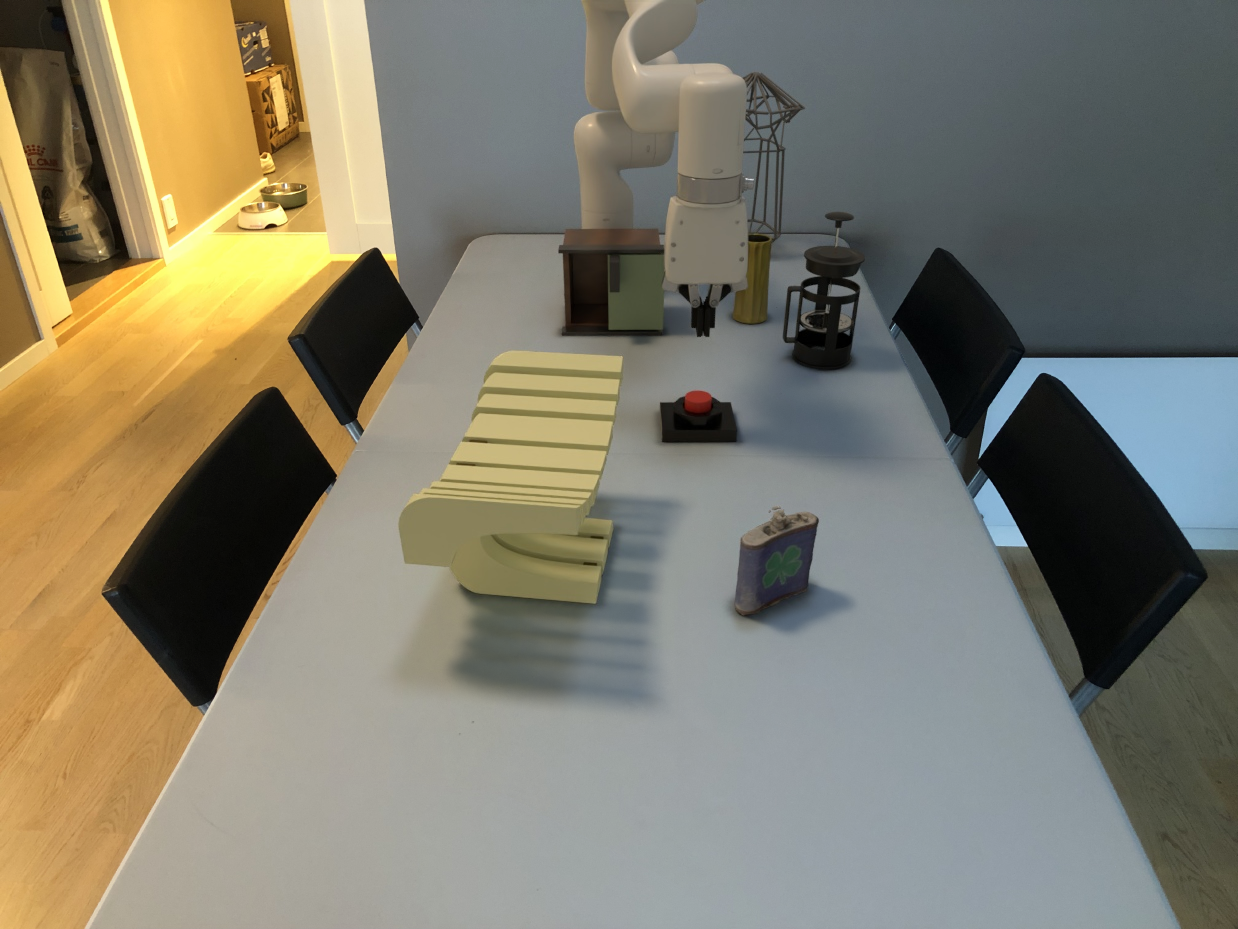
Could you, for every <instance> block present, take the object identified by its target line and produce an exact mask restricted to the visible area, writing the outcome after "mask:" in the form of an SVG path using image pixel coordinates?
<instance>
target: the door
mask: <svg viewBox="0 0 1238 929" xmlns="http://www.w3.org/2000/svg"><path fill="white" fill-rule="evenodd" d="M664 272H665V269H664V253H608V315H609V330H662V331H663V330H664V314H665V311H664V310H665V308H664V306H665V290H664V289H663V288H662V280H663V276H664Z"/></svg>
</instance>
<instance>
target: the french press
mask: <svg viewBox="0 0 1238 929" xmlns="http://www.w3.org/2000/svg"><path fill="white" fill-rule="evenodd" d="M824 218H826V219H827V220H830V221H835V222H834V224H835V225H834V228H835V229H836V231H835V239H834V245H819V246H818V245H817V246H813V247H809V248H807V249H806V250H805V251H804V252H803V257H804V259H806V261H805V269H806V271H807V272H809V273H810V274H813V275H815V276H812V277H808V278H805V279H803V280H802V281H801V282H800V285H789V286H788V287H787V290H786V299H785V309H784V319H783V329H782V340H783V342H784V343H785V344H793V349H792V350H791V358H792V360H793V361H794V362H795V363H796V364H798V365H800V366H802V367H805V368H809V369H812V370H817V371H836V370H840V369H844V368H847V367H848V366H849V365H850V364H851V363H852V359H853V357H852V348H853V342H854V336H855V328H856V322H857V316H858V308H859V302H860V296H861V295H860V294H861V289H862V288H861V285H860V284H858V283H857V282H855V281H853V280H852V279H848V278H851V277H854V276H856V275H857V274H858V272H859V270H860V269H861V265H862V264H863V263H864V262H865V260H866V255H865V254H864V253H863V252H861V251H860V250H857V249H855V248H852V247H847V246H841V245H838V241H839V232H840V229H842V226H843V225H842V224H843V222H849V221H852V220H854V219H855V216H854V215H853V214H851V213H849V212H844V211H830V212H827V213H826V214H825V215H824ZM813 286H817V288H816V293H814V292H811V291H809V290H807V289H806V288H808V287H813ZM832 286H838V287H843V288H845V289H846V288H847V289H849V290H851V291H853V292H854V293H852V294H846V295H840V296H839V295H835V296H834V295H833V296H832ZM793 292H794V293H799V295H798V303H797V304H798V306H797V314H796V324H795V332H794V336H788V328H789V322H790V321H789V319H790V312H791V300H792V293H793ZM804 299H805V300H807V301H808V302H812V303H815V304H814V305H815V306H814V310H809V311H806V312H803V300H804ZM848 304H849V305H850V304H853V306H852V313H851V317H850V316H849V315H847V314H845V313H843V312H842V306H845V305H848ZM802 312H803V313H802ZM801 327H802V328H803V329H801ZM848 331H849V334H848V333H847V332H848ZM821 348H823V349H821Z"/></svg>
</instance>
